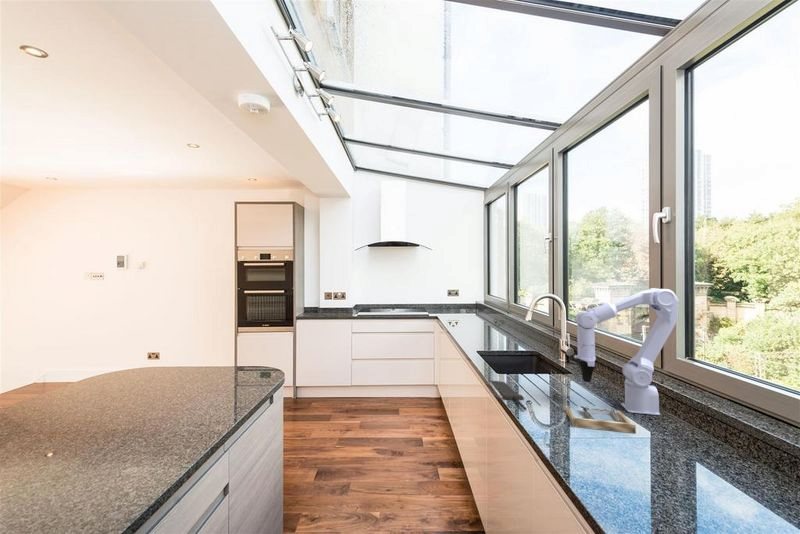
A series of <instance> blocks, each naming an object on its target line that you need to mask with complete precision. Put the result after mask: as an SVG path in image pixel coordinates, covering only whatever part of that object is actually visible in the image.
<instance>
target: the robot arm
mask: <svg viewBox="0 0 800 534" xmlns="http://www.w3.org/2000/svg"><path fill="white" fill-rule="evenodd" d="M679 302H680V300H679V298H678V297H677V295H676V293H675V292H674V291H672V290H671V289H668V288H657V287H651V288H649V289H647V290H641V291H639V292H636V293H635V294H632V295H629V296H628V297H625V298H623V299H621V300H618V301H616V302H614V303H610V302H599V304H598V305H597V306H594V307H592V308H586V311H584V310H583V311H579V312H578V313H577V314H576V316H575V318H574V321H575V324H577V326H576V328H577V329H576V336H577V338H576V340H577V341H576V342H577V343H576V344H577V354H575V355H573V357H574V359H578V360H577V361H576V362H577V365H579V366H578V367H579V368H580V372H581V376H582V381H583V382H585V383H586V382H587V383H591V381H592V377H593V373H594V371H595V369H596V367H597V363H596V362H595V361H596V360H597V357H596V340H595V339H596V336H595V334H596V333H595V327H596V325H597V324H600V323H603V322H605V321H608V320H611V319H614V318H616V316H617V314H618V312H621V311H625V310H628V309H631V308H633V307H637V306H640V305H648V306H650V307H651V308H652V309H653V311H654V312H655V314H656V316H657V318H656V320H655V321H654V324H653V325H652V327H651V329H650V330H649V332H648V334H647V336H646V337H645V339H644V341H643V343H642V345H641V347H639V350H638V351H637V353H636V355H635V356H633V357H631V358H630V360H629V361H628V362H627V363H625V364H623V366H622V375H623V376H624V377H625V380H624V402H621V403H620V405H621V406H622V407H623V408H624V409H625V410H626V411H627V412H628V413H633V414H645V415H652V416H653V415H655V416H661V413H660V400H659V399H660V398H659V396H660V395H659V392H658V389H657V387H656V386H655V385H651V383H652V381H653V373H654V371H655V368H654V363H655V361H656V359H657V357H658V356H659V354H660V353H661V350H662V349H663V347H664V345H665V344H666V343H667V340H668V338H669V336H670V335H671V333H672V331H673V329H674V327H675V326H676V324H677V322H678V321H679V307H678V304H679Z"/></svg>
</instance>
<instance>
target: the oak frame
mask: <svg viewBox="0 0 800 534" xmlns="http://www.w3.org/2000/svg"><path fill="white" fill-rule="evenodd" d="M564 408H565V411H566V414H567V416H568V418H569V420H570V421H571V424H572V426H573V427H575V428H583V429H592V430H593V429H594V430H602V431H610V432H611V431H612V432H620V433H621V432H622V433H629V434H630V433H631V434H636V433H637V431H636V424H635V423H631V422H630V420H629V419H628V418H627V417H626V416H625V414H624V413H623V412H622V411H621V410H616V413H617V415H618V416H619V418H620V421H621V422H617V421H615V420H614V421H613V420H601V419H595V418H593V419H590V418H583V417H576V416H574V414H573V412H572V410H571V407H570V406H569V405H565V407H564ZM594 419H595V420H594Z"/></svg>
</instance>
